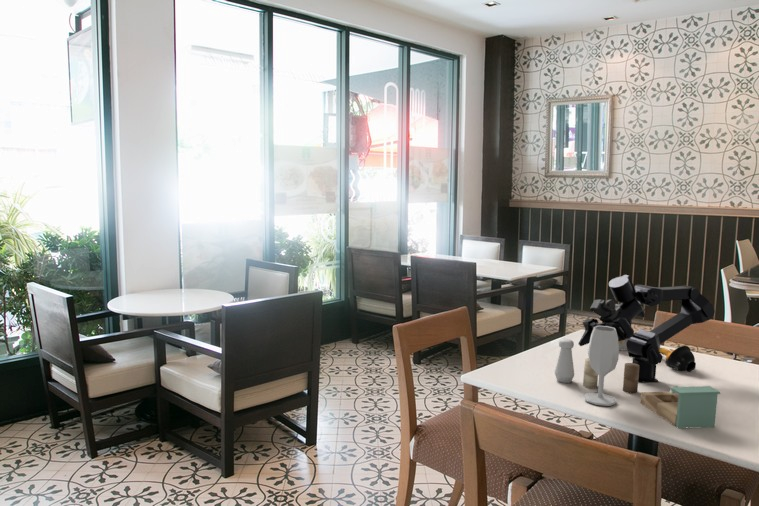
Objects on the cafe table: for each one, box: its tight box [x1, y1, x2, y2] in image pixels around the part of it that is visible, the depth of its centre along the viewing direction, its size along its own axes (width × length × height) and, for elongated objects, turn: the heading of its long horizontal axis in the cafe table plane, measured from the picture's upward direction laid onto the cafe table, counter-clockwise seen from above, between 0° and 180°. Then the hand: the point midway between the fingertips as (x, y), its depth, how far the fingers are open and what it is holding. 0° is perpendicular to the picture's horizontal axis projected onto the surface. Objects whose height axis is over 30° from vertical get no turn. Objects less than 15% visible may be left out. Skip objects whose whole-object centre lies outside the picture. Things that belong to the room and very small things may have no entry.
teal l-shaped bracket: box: [669, 385, 721, 429], centre depth 154 cm, size 11×4×9 cm, turn 97°
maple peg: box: [582, 357, 599, 389], centre depth 182 cm, size 4×4×8 cm
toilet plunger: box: [659, 345, 697, 373], centre depth 203 cm, size 9×11×18 cm
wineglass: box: [583, 326, 620, 407], centre depth 169 cm, size 9×9×21 cm
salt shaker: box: [554, 338, 575, 384], centre depth 186 cm, size 6×6×13 cm
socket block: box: [640, 391, 679, 427], centre depth 162 cm, size 10×16×3 cm, turn 7°
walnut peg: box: [622, 362, 639, 395], centre depth 178 cm, size 4×4×8 cm
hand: (588, 345), depth 179 cm, fingers open, 9 cm apart
